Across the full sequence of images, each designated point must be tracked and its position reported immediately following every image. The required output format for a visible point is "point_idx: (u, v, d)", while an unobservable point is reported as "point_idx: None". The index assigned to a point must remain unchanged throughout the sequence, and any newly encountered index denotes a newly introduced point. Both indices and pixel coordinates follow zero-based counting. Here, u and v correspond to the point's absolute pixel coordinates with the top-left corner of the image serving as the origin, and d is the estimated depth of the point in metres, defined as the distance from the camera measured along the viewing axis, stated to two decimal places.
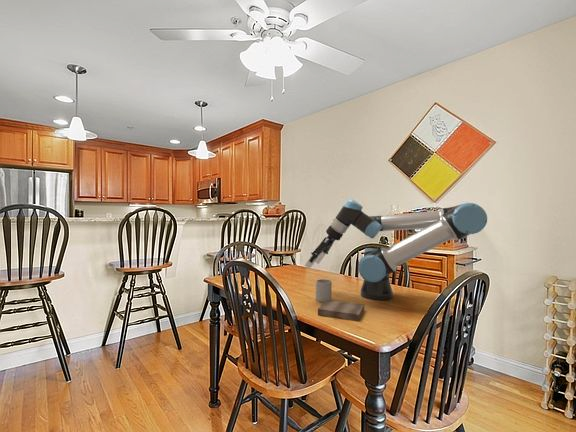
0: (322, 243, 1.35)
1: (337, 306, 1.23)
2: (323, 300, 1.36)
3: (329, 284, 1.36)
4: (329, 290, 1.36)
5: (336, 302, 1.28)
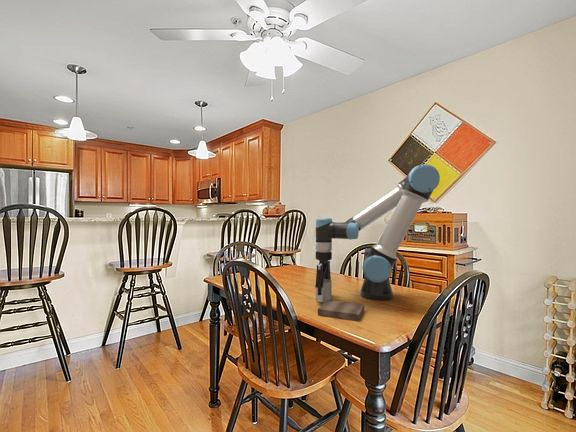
0: (318, 271, 1.34)
1: (337, 306, 1.23)
2: (323, 300, 1.36)
3: (329, 284, 1.36)
4: (329, 290, 1.36)
5: (336, 302, 1.28)
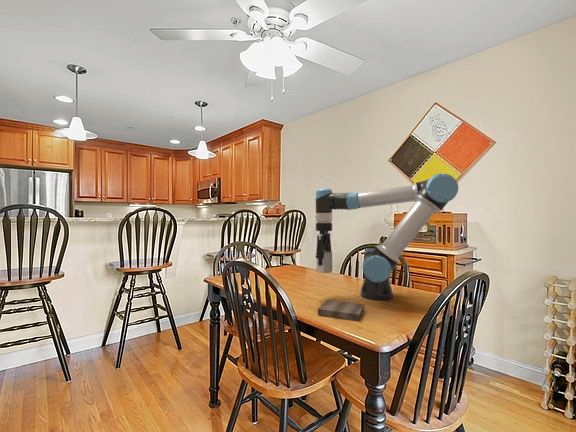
0: (318, 242, 1.34)
1: (337, 306, 1.23)
2: (324, 270, 1.35)
3: (330, 255, 1.36)
4: (330, 261, 1.36)
5: (336, 302, 1.28)
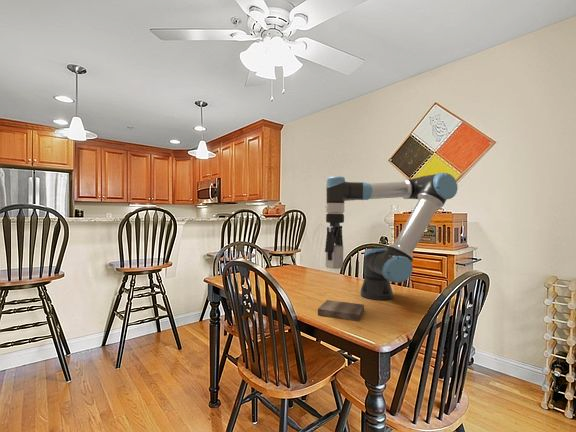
0: (328, 234, 1.21)
1: (337, 306, 1.23)
2: None
3: (340, 249, 1.24)
4: (340, 255, 1.24)
5: (336, 302, 1.28)
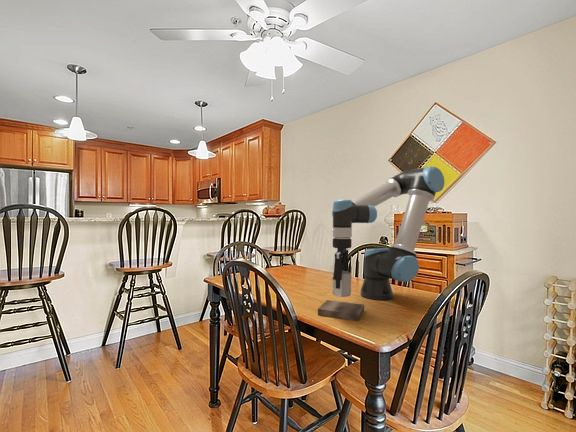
0: (336, 261, 1.16)
1: (337, 306, 1.23)
2: None
3: (348, 276, 1.18)
4: (348, 283, 1.18)
5: (336, 302, 1.28)
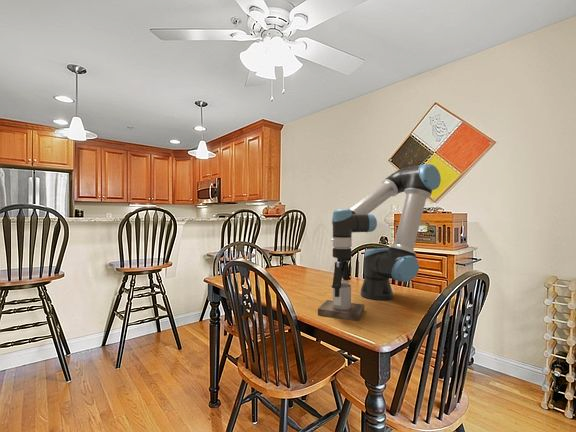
0: (336, 269, 1.15)
1: None
2: (342, 308, 1.17)
3: (348, 289, 1.18)
4: (349, 296, 1.18)
5: None
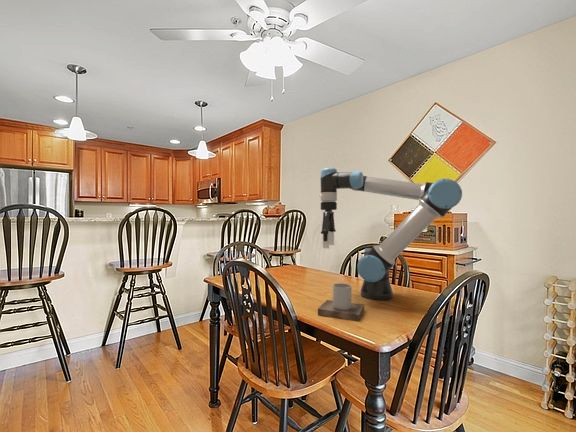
0: (324, 218, 1.35)
1: None
2: (342, 308, 1.17)
3: (349, 289, 1.18)
4: (349, 296, 1.18)
5: None
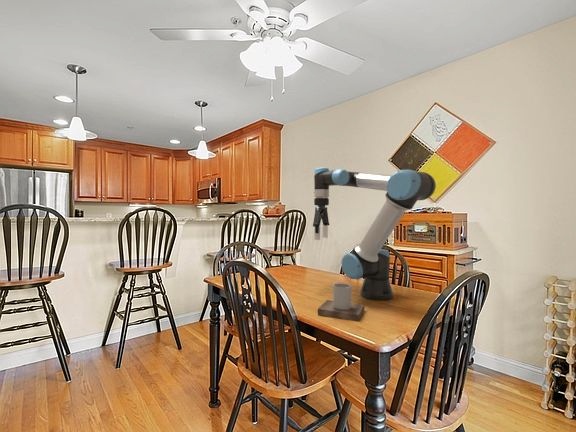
0: (316, 212, 1.50)
1: None
2: (342, 308, 1.17)
3: (349, 289, 1.18)
4: (349, 296, 1.18)
5: None
